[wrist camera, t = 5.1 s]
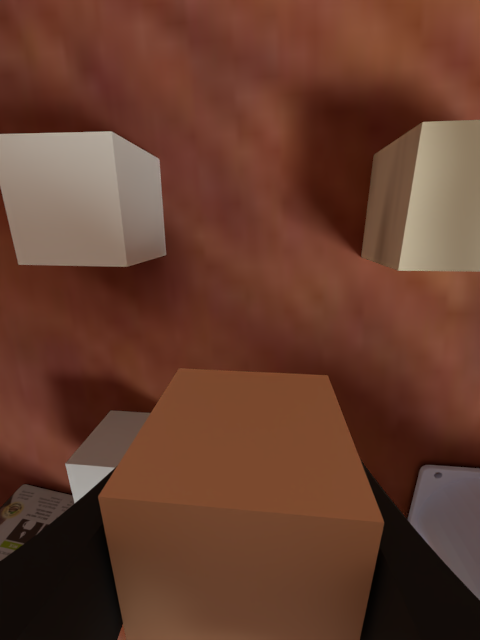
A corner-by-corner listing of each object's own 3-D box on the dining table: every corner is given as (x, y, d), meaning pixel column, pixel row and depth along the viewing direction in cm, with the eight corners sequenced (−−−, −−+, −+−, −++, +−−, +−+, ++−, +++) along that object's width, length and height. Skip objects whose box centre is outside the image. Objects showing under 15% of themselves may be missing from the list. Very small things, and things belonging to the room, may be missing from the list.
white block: (159, 159, 16) (111, 131, 11) (166, 254, 17) (127, 266, 12) (71, 160, 16) (-13, 134, 11) (86, 253, 18) (18, 264, 13)
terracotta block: (327, 375, 10) (384, 522, 5) (315, 491, 11) (349, 689, 6) (178, 368, 10) (97, 496, 5) (187, 481, 12) (130, 658, 7)
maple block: (480, 152, 14) (586, 116, 9) (457, 257, 16) (538, 272, 11) (373, 155, 15) (422, 121, 10) (360, 257, 16) (398, 270, 11)
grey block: (178, 413, 21) (151, 470, 16) (183, 469, 22) (159, 536, 17) (111, 409, 21) (65, 463, 16) (120, 464, 23) (80, 528, 18)
